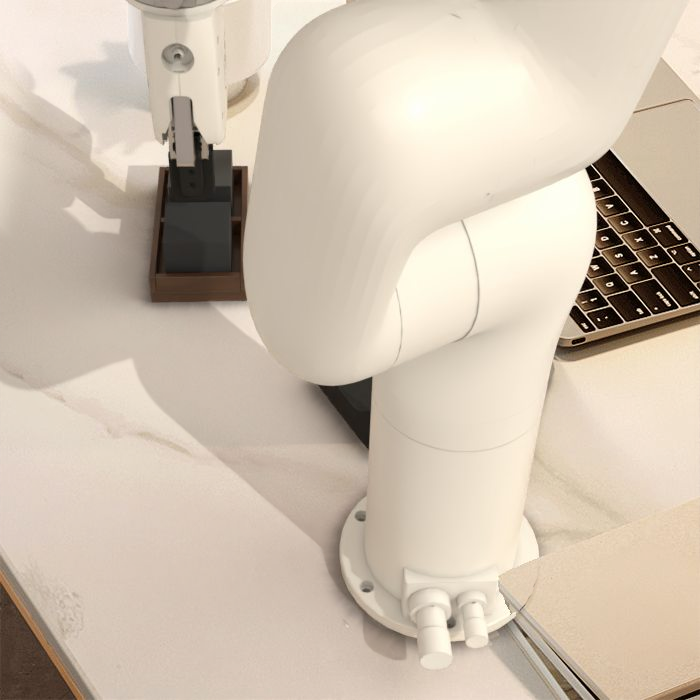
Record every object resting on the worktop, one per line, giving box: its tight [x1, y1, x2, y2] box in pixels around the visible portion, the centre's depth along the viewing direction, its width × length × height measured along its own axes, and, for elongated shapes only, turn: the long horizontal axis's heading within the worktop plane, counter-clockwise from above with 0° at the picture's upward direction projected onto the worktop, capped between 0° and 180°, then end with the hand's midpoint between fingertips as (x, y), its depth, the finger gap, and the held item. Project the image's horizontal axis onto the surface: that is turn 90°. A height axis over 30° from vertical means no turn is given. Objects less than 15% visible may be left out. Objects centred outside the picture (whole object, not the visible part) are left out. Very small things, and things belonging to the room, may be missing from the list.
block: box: [162, 202, 232, 273], centre depth 99 cm, size 5×5×4 cm
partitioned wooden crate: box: [148, 149, 250, 303], centre depth 102 cm, size 14×7×5 cm, turn 3°
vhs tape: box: [317, 376, 373, 451], centre depth 92 cm, size 8×14×2 cm, turn 120°
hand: (193, 192), depth 96 cm, fingers closed
